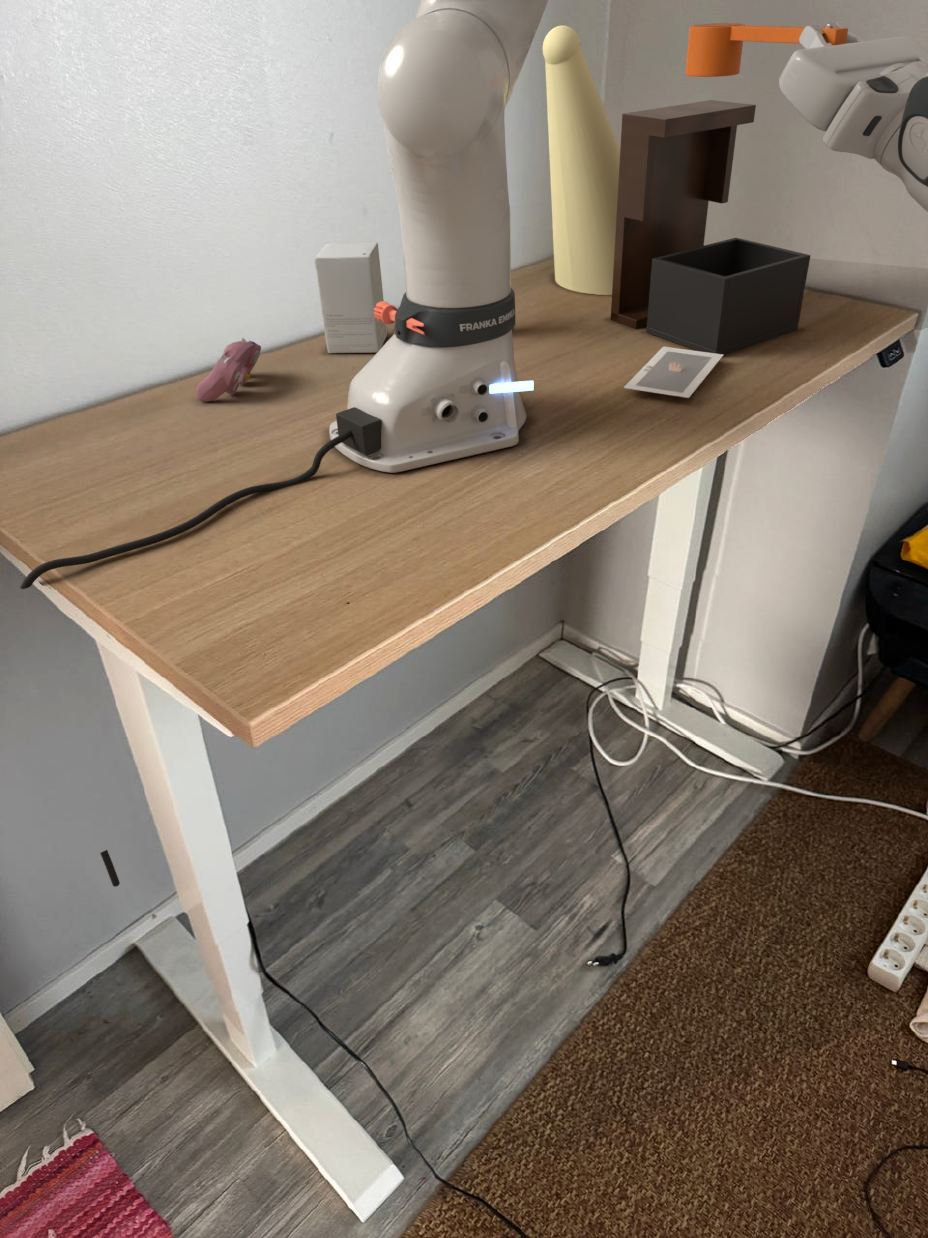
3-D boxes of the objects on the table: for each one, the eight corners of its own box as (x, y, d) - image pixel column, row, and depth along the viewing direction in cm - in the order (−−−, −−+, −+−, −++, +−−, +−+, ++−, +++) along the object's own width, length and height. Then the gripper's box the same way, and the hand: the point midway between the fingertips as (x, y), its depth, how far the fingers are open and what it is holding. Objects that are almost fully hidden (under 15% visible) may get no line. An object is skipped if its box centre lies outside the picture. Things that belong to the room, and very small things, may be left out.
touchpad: (722, 363, 115) (724, 346, 114) (687, 406, 105) (689, 388, 103) (662, 354, 118) (663, 338, 117) (622, 396, 108) (623, 378, 106)
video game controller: (225, 416, 111) (240, 367, 107) (191, 399, 111) (204, 349, 106) (256, 385, 119) (271, 339, 115) (224, 369, 118) (238, 321, 114)
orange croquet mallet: (814, 85, 98) (823, 30, 95) (674, 74, 112) (678, 25, 109) (851, 80, 101) (861, 25, 98) (710, 69, 115) (715, 21, 112)
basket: (715, 357, 117) (725, 278, 111) (646, 332, 125) (652, 258, 120) (797, 330, 124) (811, 254, 118) (726, 308, 132) (736, 237, 127)
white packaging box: (388, 335, 128) (380, 240, 121) (379, 354, 122) (370, 255, 115) (337, 335, 129) (325, 241, 122) (325, 354, 123) (312, 256, 116)
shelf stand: (648, 333, 125) (666, 119, 110) (610, 319, 130) (622, 113, 115) (729, 308, 132) (756, 104, 117) (689, 297, 137) (710, 99, 122)
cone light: (607, 256, 157) (620, 12, 137) (693, 276, 146) (721, 14, 125) (502, 287, 145) (499, 25, 124) (587, 312, 133) (599, 27, 113)
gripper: (978, 72, 97) (893, -6, 101) (857, 93, 88) (769, 6, 92) (937, 127, 102) (858, 50, 106) (819, 152, 93) (738, 67, 97)
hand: (816, 30), depth 99 cm, fingers closed on orange croquet mallet
